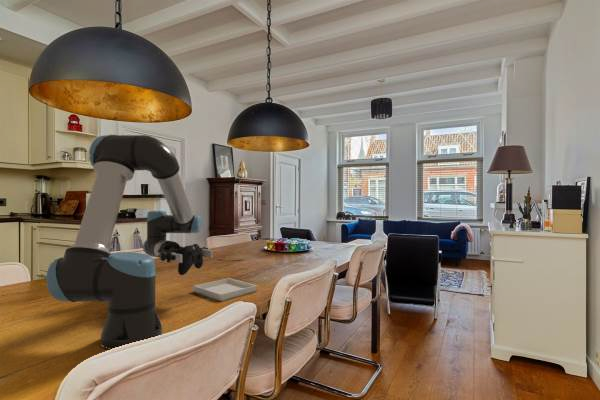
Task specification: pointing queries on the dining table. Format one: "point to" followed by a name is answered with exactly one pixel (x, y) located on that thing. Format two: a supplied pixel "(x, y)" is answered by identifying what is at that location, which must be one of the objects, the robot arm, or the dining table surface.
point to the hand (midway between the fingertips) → (197, 256)
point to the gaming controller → (190, 258)
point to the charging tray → (225, 289)
